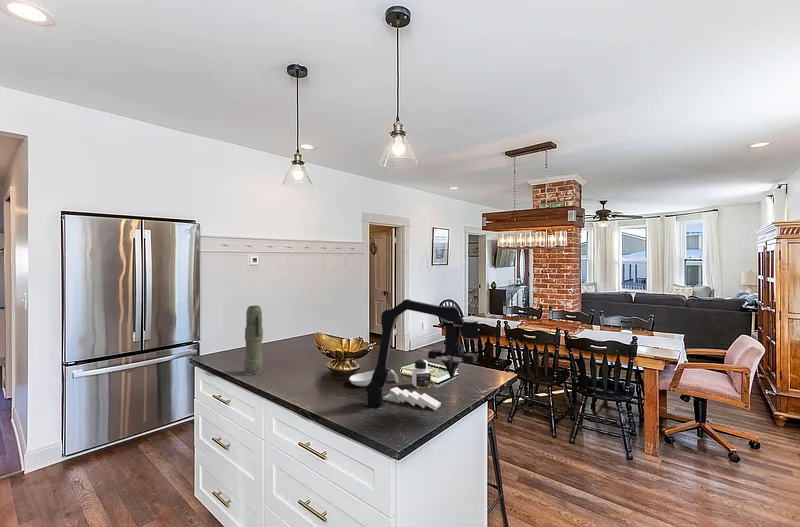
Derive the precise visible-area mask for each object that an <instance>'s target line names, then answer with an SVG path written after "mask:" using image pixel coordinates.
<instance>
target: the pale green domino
mask: <svg viewBox="0 0 800 527" xmlns="http://www.w3.org/2000/svg"><path fill="white" fill-rule="evenodd" d="M382 401H387V402H392V403H398V404H401V403H402V402H401V401H400V400H398V399H397V398H396V397H394V396H393V395H391V394H390V393H388V394H387V395H385V396H382Z"/></svg>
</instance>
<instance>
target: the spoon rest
mask: <svg viewBox="0 0 800 527" xmlns="http://www.w3.org/2000/svg"><path fill="white" fill-rule="evenodd" d="M388 369H390V368H389V367H388ZM374 370H375V369H374ZM374 370H373V369H372V370H371V371H366V372H361V373H356V374H352V375H350V377H349V378H348V380H349V382H350V383H351V384H352V385H354V386H357V387H366V386H367V385H368V384H369V383H370V382H371V379H372V376H373V373H374ZM390 374H392V376H393V379H394V383H396V384H398V383H399V378H398V375H397V373H396V372H395V371H394V370H393V369H391V372H390Z"/></svg>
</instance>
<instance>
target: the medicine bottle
mask: <svg viewBox="0 0 800 527" xmlns="http://www.w3.org/2000/svg"><path fill="white" fill-rule="evenodd" d="M428 364H429V362H428V360H426V359H417V360H415V362H414V369H411V380H412V381H411V384H412V385H413V387H415V388H416V389H423V388H424V389H425V388H426V387H427V388H431V385H432V384H431V382H432V381H431V379H432V378H431V376H432V373H431V371H430V370H428V369H429V366H428Z"/></svg>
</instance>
